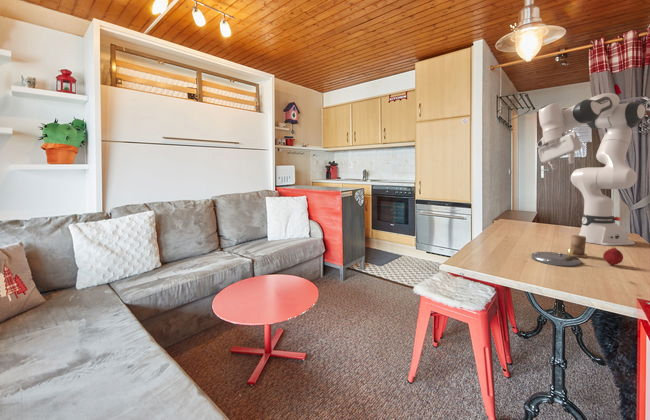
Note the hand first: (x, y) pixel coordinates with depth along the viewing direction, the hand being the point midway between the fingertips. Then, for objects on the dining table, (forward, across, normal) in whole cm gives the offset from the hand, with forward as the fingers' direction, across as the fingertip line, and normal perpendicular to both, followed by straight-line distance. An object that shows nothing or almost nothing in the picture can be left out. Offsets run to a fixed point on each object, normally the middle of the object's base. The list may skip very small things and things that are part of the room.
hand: (562, 166), depth 134 cm
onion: (+45, -6, -5) cm, 46 cm away
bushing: (+41, +7, -2) cm, 41 cm away
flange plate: (+41, +2, +12) cm, 43 cm away
